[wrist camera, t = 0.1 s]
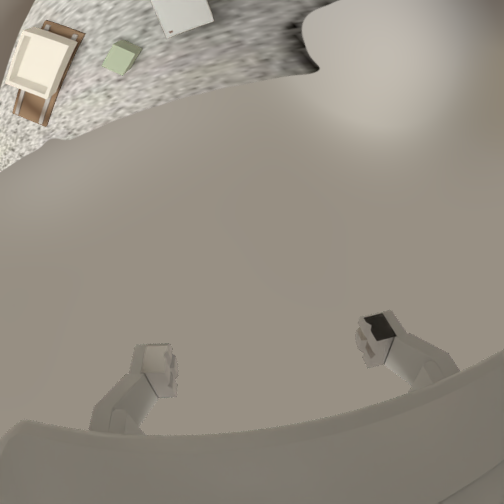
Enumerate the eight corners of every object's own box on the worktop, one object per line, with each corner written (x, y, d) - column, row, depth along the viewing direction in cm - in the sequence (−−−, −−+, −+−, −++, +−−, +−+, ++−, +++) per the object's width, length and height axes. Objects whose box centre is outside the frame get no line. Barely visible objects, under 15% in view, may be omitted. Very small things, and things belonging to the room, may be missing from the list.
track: (46, 20, 30) (43, 21, 29) (85, 33, 36) (82, 34, 35) (14, 111, 42) (11, 114, 41) (47, 125, 47) (44, 128, 46)
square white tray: (39, 25, 29) (23, 30, 26) (81, 40, 35) (68, 46, 31) (20, 73, 35) (5, 83, 31) (60, 89, 41) (47, 99, 37)
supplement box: (214, 18, 39) (215, 22, 31) (174, 32, 40) (165, 40, 32) (202, -15, 34) (200, -20, 25) (161, 0, 34) (148, -1, 26)
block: (122, 39, 39) (113, 44, 35) (142, 48, 41) (135, 54, 37) (111, 59, 41) (101, 66, 37) (130, 67, 44) (122, 75, 40)
